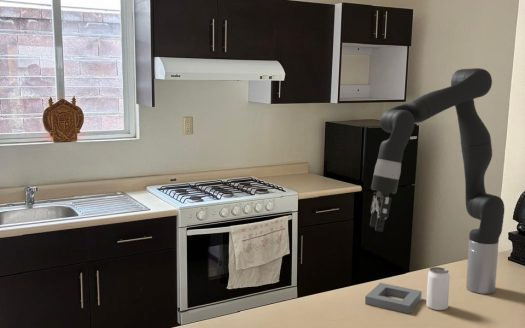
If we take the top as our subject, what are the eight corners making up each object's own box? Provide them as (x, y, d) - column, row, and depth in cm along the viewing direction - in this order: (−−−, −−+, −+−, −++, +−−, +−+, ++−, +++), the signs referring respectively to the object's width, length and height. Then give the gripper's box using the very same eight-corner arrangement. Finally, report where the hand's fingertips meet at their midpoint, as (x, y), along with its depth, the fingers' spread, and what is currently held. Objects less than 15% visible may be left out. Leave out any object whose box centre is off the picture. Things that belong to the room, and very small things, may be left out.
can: (449, 311, 163) (451, 274, 161) (427, 310, 164) (429, 272, 163) (446, 303, 169) (448, 267, 168) (425, 301, 171) (427, 266, 169)
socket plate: (379, 289, 181) (380, 282, 180) (421, 298, 173) (421, 291, 173) (365, 303, 169) (365, 296, 169) (408, 313, 162) (409, 305, 161)
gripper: (404, 179, 151) (393, 235, 152) (393, 176, 165) (383, 227, 166) (378, 174, 151) (367, 230, 152) (369, 172, 165) (359, 223, 166)
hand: (375, 228), depth 159 cm, fingers open, 8 cm apart
